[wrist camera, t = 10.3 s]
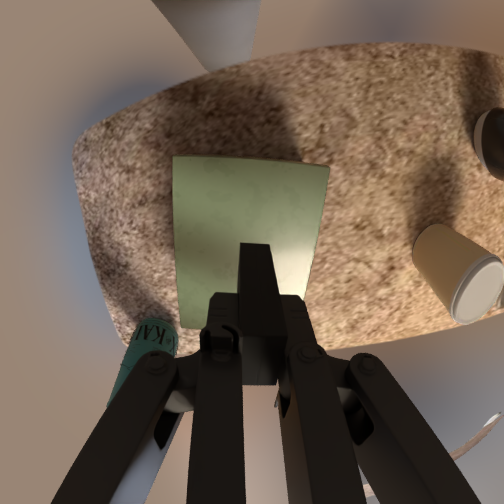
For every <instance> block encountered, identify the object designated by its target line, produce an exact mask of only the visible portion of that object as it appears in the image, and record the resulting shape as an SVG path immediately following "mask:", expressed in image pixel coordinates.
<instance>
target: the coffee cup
mask: <svg viewBox="0 0 504 504" xmlns="http://www.w3.org/2000/svg"><path fill="white" fill-rule="evenodd" d="M412 259H413V263H414V265H415V267H416V268H417V270H418V271H419V272H420V274H421V275H422V276H423V278H424V279H425V280H426V282H427V283H428V284H429V286H430V287H431V288H432V290H433V291H434V292H435V294H436V295H437V296H438V298H439V299H440V301H441V302H442V303H443V305H444V306H445V307H446V309H447V310H448V311H449V313H450V316H451V317H452V319H453V320H454V321H455V322H457V323H460V324H463V325H467V324H471V323H473V322H475V321H477V320H478V319H480V318H481V317H482V316H483V315H485V314H486V313H487V311H488V310H489V309H490V308H491V307H492V305H493V304H494V303H495V301H496V299H497V298H498V296H499V294H500V292H501V290H502V287H503V284H504V266H503V264H502V261H501V259H500V258H499V257H498V256H496V255H494V254H491V253H490V252H489V251H487V250H486V249H484V248H483V247H481V246H480V245H478V244H476V243H475V242H473V241H472V240H470V239H468V238H467V237H465V236H463V235H462V234H460V233H458V232H456V231H455V230H453V229H451V228H449V227H447V226H445V225H443V224H433V225H431V226H429V227H427V228H426V229H425V230H424V231H423V232H422V233H421V234H420V235H419V237H418V238H417V240H416V242H415V244H414V248H413V252H412Z"/></svg>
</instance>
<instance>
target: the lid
mask: <svg viewBox="0 0 504 504" xmlns="http://www.w3.org/2000/svg"><path fill="white" fill-rule="evenodd" d="M329 172H330V167H329V166H327V165H321V164H313V163H305V162H297V161H288V160H278V159H267V158H255V157H240V156H222V155H193V154H175V155H173V157H172V194H173V230H174V251H175V267H176V281H177V293H178V304H179V314H180V323H181V328H188V329H201V330H202V329H203V328H204V327H205V326H206V322H207V315H208V307H209V300H210V298H211V297H212V296H213V294H214V293H215V292H227V293H237V280H238V265H239V251H240V242H242V243H259V244H270V249H271V254H272V258H273V263H274V268H275V273H276V278H277V282H278V287H279V292H280V294H293V295H299V296H300V298H301V299H302V300H303V301H304V297H305V293H306V289H307V284H308V280H309V276H310V271H311V267H312V262H313V257H314V253H315V248H316V243H317V238H318V233H319V228H320V223H321V218H322V212H323V207H324V201H325V196H326V190H327V184H328V178H329Z"/></svg>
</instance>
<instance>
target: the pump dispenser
mask: <svg viewBox="0 0 504 504" xmlns="http://www.w3.org/2000/svg"><path fill="white" fill-rule="evenodd" d="M474 146H475V150H476V153H477V156H478V158H479V160H480V161H481V163H482V164H483V166H484V167H485V168H486V169H487V170H488V171H489V172H490V173H491V175H492V176H494V177H495V178H497V179H499V180H501V181H504V108H500V107H496V108H493V109H492V110H489V111H487V112H485V113H484V114H482V115H481V116H480V118H479V119H478V121H477V123H476V126H475V130H474Z"/></svg>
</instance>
